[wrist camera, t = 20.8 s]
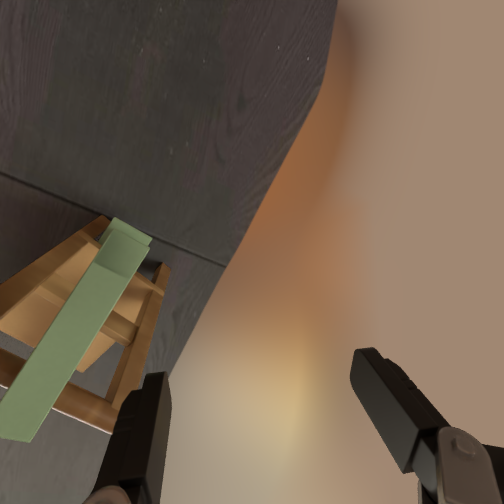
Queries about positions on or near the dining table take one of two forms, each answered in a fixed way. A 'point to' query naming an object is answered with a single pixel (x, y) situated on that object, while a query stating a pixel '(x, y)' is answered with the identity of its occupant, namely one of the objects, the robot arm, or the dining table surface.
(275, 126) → the dining table surface
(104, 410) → the chair
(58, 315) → the hook
